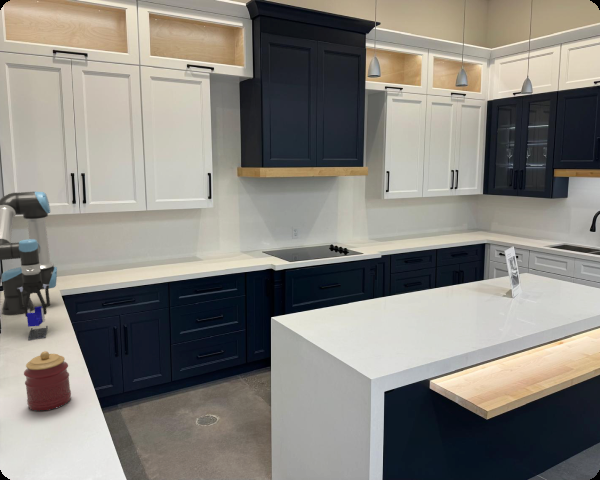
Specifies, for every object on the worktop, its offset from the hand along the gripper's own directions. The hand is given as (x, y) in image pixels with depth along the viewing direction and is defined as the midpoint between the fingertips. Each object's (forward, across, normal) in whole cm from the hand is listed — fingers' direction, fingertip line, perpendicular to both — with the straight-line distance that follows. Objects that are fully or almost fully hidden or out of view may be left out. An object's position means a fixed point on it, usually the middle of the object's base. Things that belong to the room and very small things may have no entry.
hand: (37, 322), depth 233 cm
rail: (+6, 0, 0) cm, 6 cm away
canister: (+7, +10, -79) cm, 80 cm away
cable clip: (0, 0, 0) cm, 1 cm away
